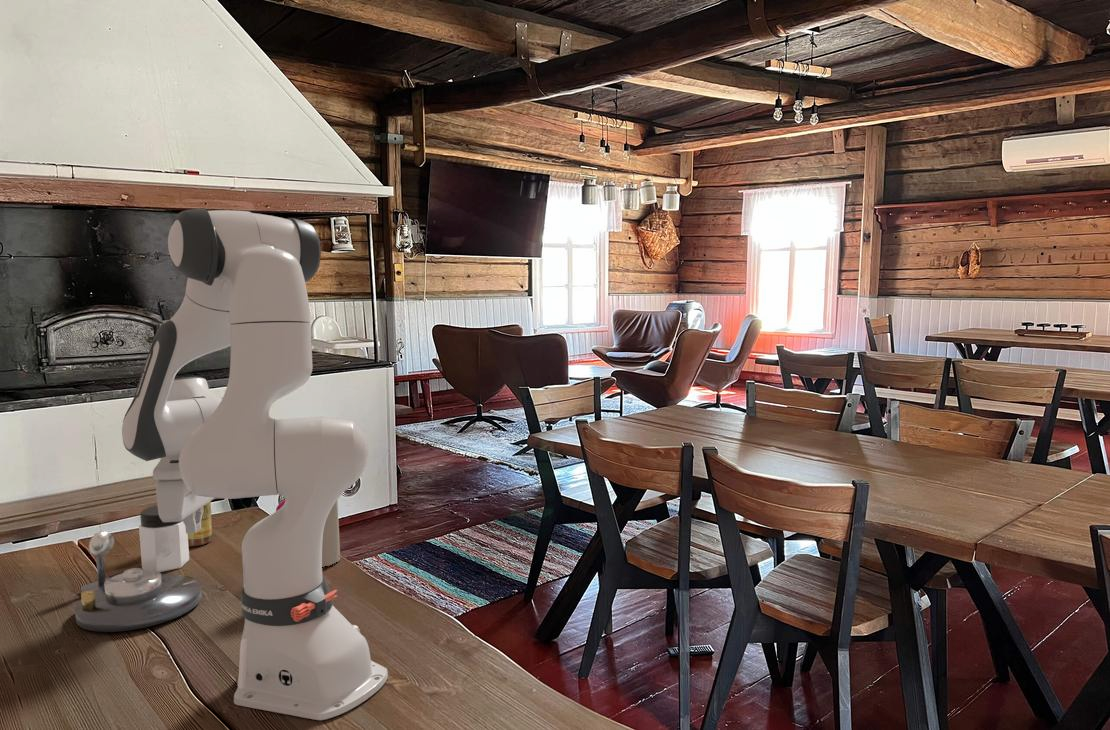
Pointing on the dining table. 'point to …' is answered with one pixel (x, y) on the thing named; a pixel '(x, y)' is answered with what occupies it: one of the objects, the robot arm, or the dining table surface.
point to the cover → (133, 587)
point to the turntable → (138, 606)
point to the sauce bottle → (202, 529)
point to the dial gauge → (99, 557)
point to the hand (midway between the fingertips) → (193, 532)
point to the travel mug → (331, 538)
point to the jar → (162, 542)
